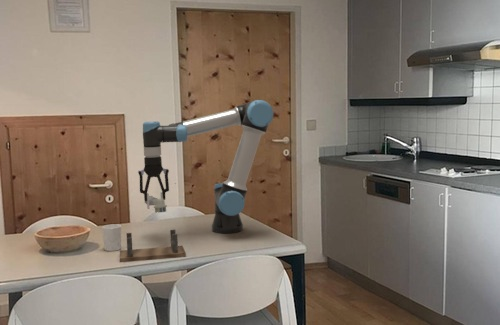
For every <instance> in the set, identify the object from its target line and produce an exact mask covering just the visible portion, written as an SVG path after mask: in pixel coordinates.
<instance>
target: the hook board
mask: <svg viewBox="0 0 500 325" xmlns="http://www.w3.org/2000/svg"><path fill="white" fill-rule="evenodd" d="M169 232H170V235H169V236H170V246H159V247H148V248H147V247H146V248H136V249H133V237H132V235H133V234H132V232H126V249H123V250H121V249H119V263H126V262H128V263H129V262H138V261H151V260H160V259H173V258H183V257H187V253H186V250H185V248H184V246H183V245H178V233H176V229H170V231H169Z"/></svg>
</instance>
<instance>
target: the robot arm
mask: <svg viewBox="0 0 500 325" xmlns="http://www.w3.org/2000/svg"><path fill="white" fill-rule="evenodd" d="M273 119H274V110H273V107H272V105H270V103H268V101H265V100H261V99H253V100H250V101H248V102H246V103H243V104H240V105H237V106H235V107H234V108H232V109H228V110H225V111H220V112H217V113H212V114H208V115H204V116H200V117H197V118H192V119H188V120H184V121H179V122H176V123H170V124H168V125H161V123H160V121H144V122H143V123H142V139H143V142H142V143H143V156H144V160H143V161H144V162H143V163H144V168H143V169H141V170H138V172H137V173H138V176H139V193H140V194H143V196H144V202H145V201H147V204H146V206H147V210H148V209H150V205H149V196H150V194H149V193H148V192H149V186H150V182H151V179H152V178H157V180H158V183H159V187H160V189H161V192H160V199H164V201H165V200H166V192H169V191H170V186H169V185H170V183H169V172H170V170H169V169H168V168H164V167H163V164H162V162H163V161H162V146H161V143H182V142H183V143H184V142H187V141H188V138H189V137H193V136H197V135H200V134H204V133H205V134H206V133H208V132H209V133H210V132H213V131H217V130H220V129H225V128H230V127H233V126H240V127H242V129H243V130H242V133H241V136H240V139H239V144H238V145H237V149H236V153H235V154H234V155H235V156H234V158H233V162H232V165H231V168H230V171H229V174H228V178H227V180H225V181H222V183H221V182H220V183H215V184H214V189H213V191H214V217H213V221H212V224H211V230H212V232H214V233H218V234H234V233H239V232H242V231H243V230H244V224H243V221H242V219H241V216H240V214H241V212H242V211H243V210H244V208H245V204H246V201H245V198H246V196H247V193H248V188H247V186H246V185H247V181H248V179H249V175H250V171H251V169H252V166H253V163H254V159H255V157H256V153H257V150H258V147H259V145H260V141H261V138H262V136H263V135H265V134H266V133H267V130H268V127H269V125H270V124H271V122H272V121H273ZM162 172H163V174H164V181H165V182H164V183H165V188H164V184H163V182H162V179H161V174H162ZM144 175H147V178H146V182H145V186H144V183H143V182H144V179H143V176H144ZM143 186H144V187H143ZM143 188H144V189H143Z"/></svg>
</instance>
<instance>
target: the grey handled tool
mask: <svg viewBox="0 0 500 325" xmlns="http://www.w3.org/2000/svg"><path fill="white" fill-rule="evenodd" d="M144 204H146V205H147V201H145V200H144ZM149 206H153V208H154V213H165V212H166V213H167V207H168V206H167V205H166V203H165V200H164V199H161V198H158V197H157V198H156V197H154V196H153V195H149Z"/></svg>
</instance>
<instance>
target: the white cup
mask: <svg viewBox="0 0 500 325" xmlns="http://www.w3.org/2000/svg"><path fill="white" fill-rule="evenodd" d="M101 229H102V230H101V231H102V239H103V246H104V247H103V248H104V251H106V252H115V251H120V250H121V248H122V225H121V224H119V223H118V224H117V223H116V224H114V223H113V224H106V225H103V226H102V228H101Z"/></svg>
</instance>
